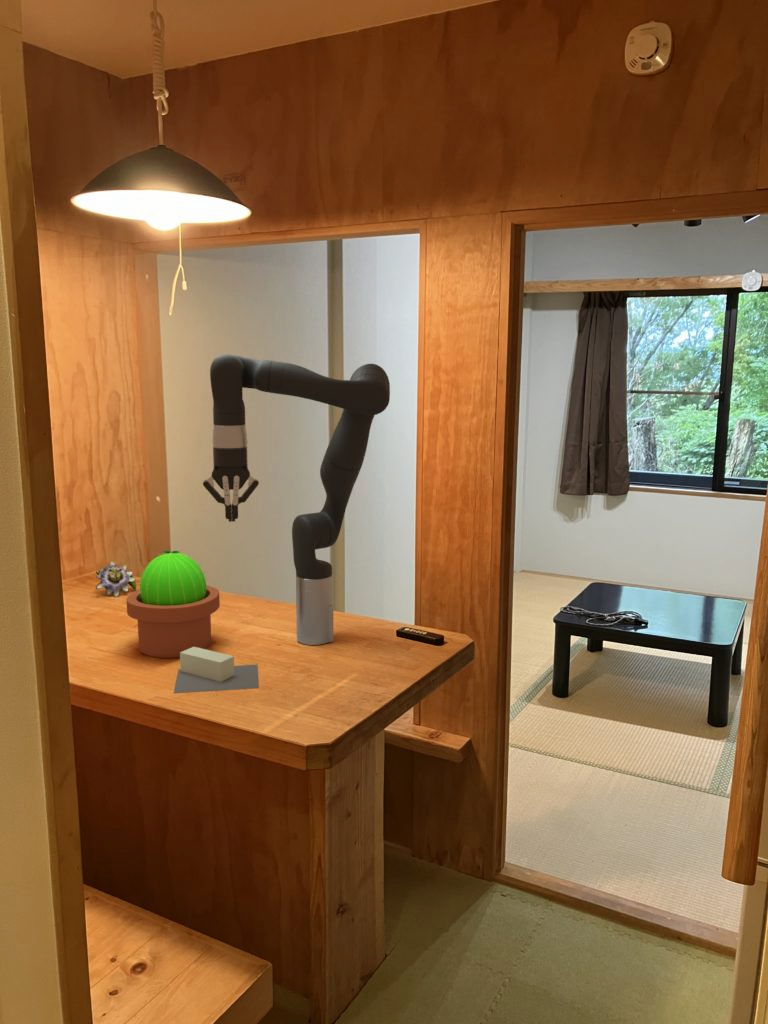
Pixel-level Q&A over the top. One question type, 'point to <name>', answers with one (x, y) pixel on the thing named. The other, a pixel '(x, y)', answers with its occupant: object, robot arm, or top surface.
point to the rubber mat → (241, 680)
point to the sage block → (207, 664)
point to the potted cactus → (173, 606)
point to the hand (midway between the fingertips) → (232, 520)
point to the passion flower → (115, 579)
